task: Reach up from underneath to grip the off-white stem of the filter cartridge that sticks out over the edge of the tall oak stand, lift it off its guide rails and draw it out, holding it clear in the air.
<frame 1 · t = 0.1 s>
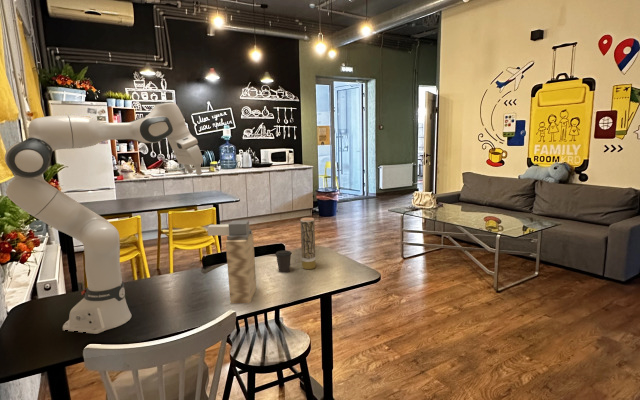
hand: (195, 173, 157), 52 cm above the table, tool tilted 20°, fingers open, 8 cm apart
cartridge: (230, 236, 157), point 26 cm above the table, touching filter stand
coffee cup: (284, 271, 189), on the table
filter stand: (243, 295, 162), on the table
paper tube: (308, 267, 193), on the table
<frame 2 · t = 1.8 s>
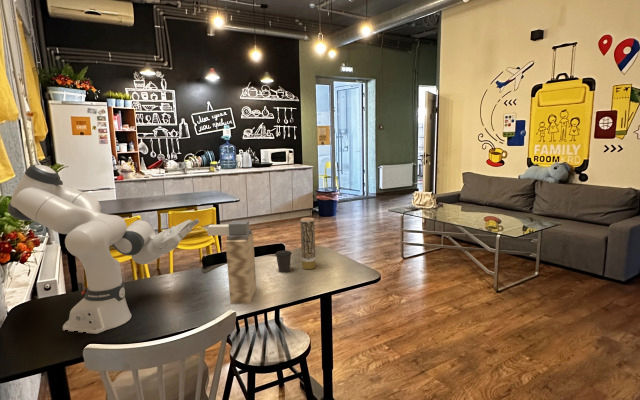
hand: (194, 224, 158), 31 cm above the table, tool pointing upward, fingers open, 8 cm apart
nothing on the table moved.
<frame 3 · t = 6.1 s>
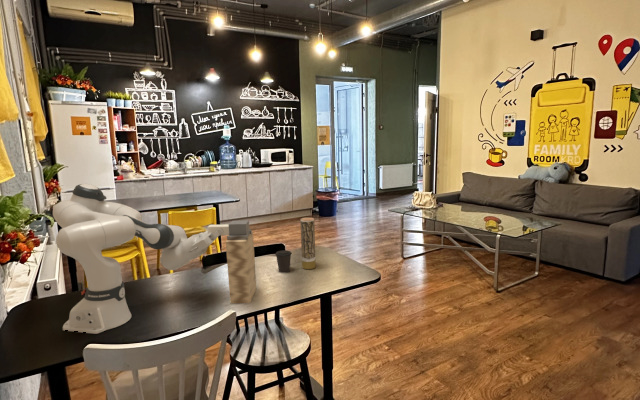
hand: (224, 228, 157), 29 cm above the table, tool pointing upward, fingers closed on cartridge, 4 cm apart
cartridge: (230, 236, 157), point 26 cm above the table, touching filter stand, gripper
everything else where it was.
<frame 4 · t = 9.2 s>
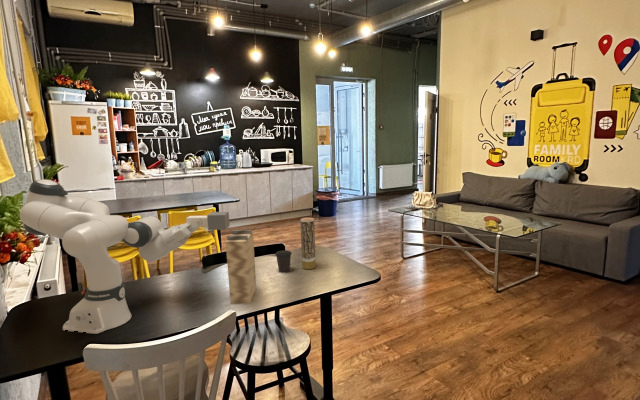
hand: (203, 219, 156), 33 cm above the table, tool pointing upward, fingers closed on cartridge, 4 cm apart
cartridge: (209, 228, 156), point 30 cm above the table, touching gripper
everything else where it was.
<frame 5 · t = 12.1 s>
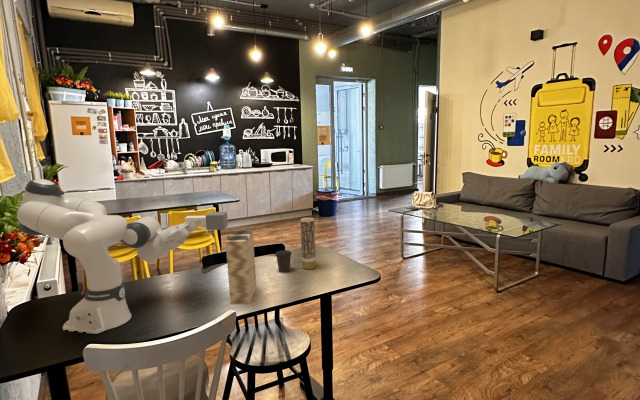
hand: (201, 219, 156), 33 cm above the table, tool pointing upward, fingers closed on cartridge, 4 cm apart
cartridge: (207, 228, 157), point 30 cm above the table, touching gripper
everything else where it was.
at the end: the gripper is holding cartridge; cartridge touching gripper; cartridge inside the target area (0.0 cm from its centre), point 29.9 cm above the table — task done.
